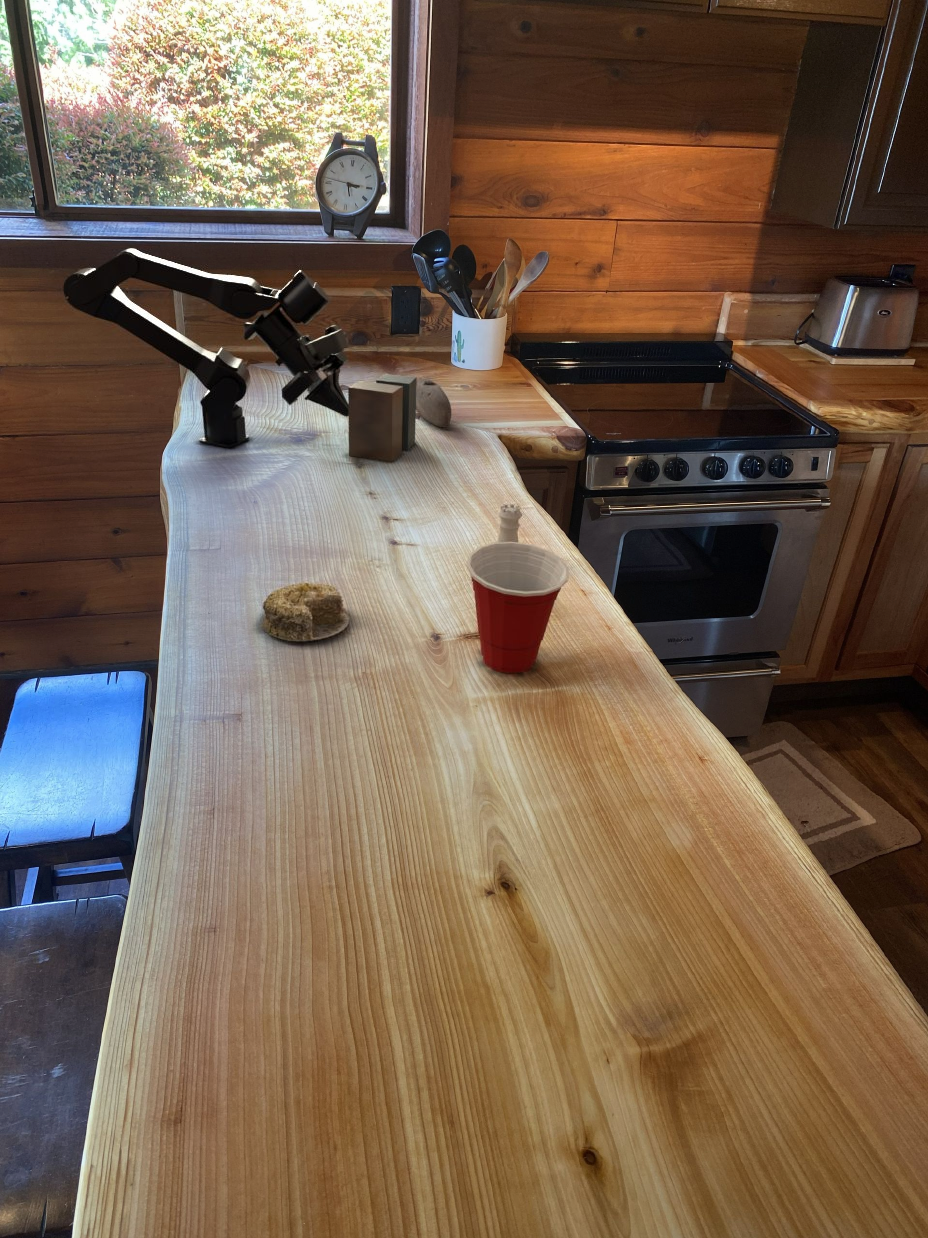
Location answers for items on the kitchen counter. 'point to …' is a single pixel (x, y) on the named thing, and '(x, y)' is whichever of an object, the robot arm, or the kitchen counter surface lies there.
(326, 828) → the kitchen counter surface
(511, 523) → the rook chess piece
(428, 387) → the perforated stone tool
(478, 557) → the plastic cup
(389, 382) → the slate block
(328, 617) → the cake
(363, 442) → the walnut block
